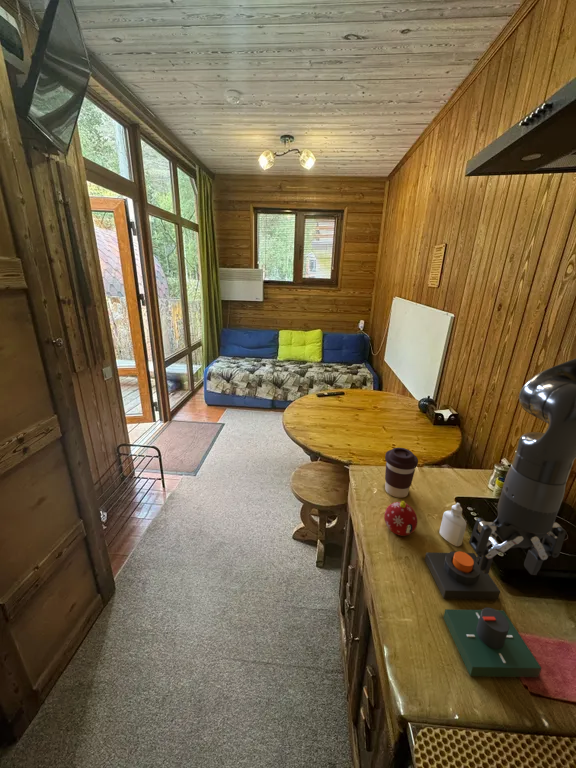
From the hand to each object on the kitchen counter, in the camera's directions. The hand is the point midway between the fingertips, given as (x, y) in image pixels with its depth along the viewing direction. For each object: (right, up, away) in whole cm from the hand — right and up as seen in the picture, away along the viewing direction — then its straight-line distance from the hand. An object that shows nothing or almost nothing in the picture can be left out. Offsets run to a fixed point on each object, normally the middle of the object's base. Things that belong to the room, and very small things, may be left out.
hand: (506, 570), depth 56 cm
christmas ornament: (-8, -8, +31) cm, 33 cm away
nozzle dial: (-1, -14, +2) cm, 14 cm away
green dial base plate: (-1, -17, +3) cm, 17 cm away
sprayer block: (+1, -12, +17) cm, 21 cm away
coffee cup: (-3, -3, +47) cm, 47 cm away
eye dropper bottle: (+5, -9, +28) cm, 30 cm away
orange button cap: (+1, -8, +15) cm, 17 cm away
